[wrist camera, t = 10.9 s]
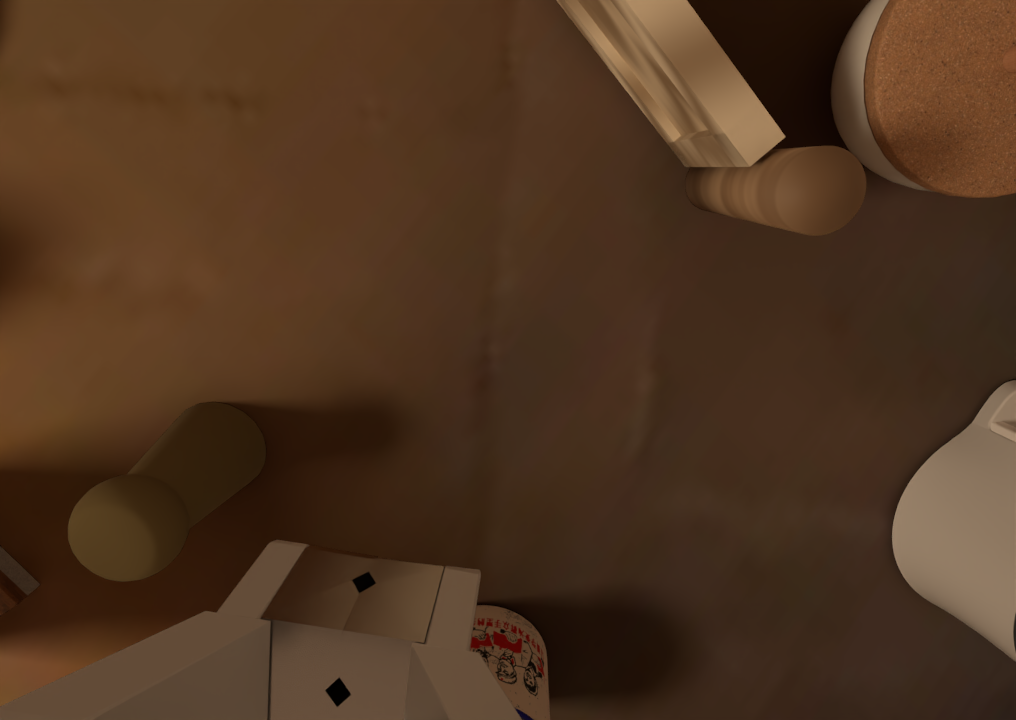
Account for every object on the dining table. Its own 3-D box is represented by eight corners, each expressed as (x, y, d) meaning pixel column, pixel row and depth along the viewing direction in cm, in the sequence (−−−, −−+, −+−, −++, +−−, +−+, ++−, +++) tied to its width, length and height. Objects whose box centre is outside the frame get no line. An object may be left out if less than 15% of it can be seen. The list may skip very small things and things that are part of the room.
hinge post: (738, 148, 33) (864, 137, 21) (743, 205, 34) (867, 226, 22) (681, 159, 34) (774, 155, 21) (688, 215, 34) (780, 243, 22)
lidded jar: (1013, 159, 33) (1195, 156, 24) (810, 215, 34) (911, 231, 25) (1003, -64, 30) (1206, -162, 21) (781, 4, 31) (884, -61, 22)
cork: (154, 452, 40) (20, 555, 29) (201, 383, 38) (78, 465, 28) (235, 505, 41) (134, 624, 30) (284, 440, 39) (196, 540, 29)
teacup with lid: (565, 615, 42) (580, 774, 31) (531, 716, 45) (533, 896, 34) (393, 576, 42) (346, 723, 31) (369, 680, 45) (317, 851, 33)
